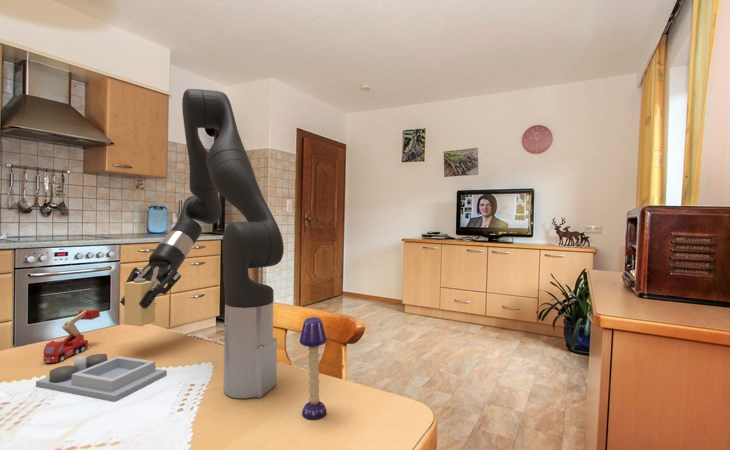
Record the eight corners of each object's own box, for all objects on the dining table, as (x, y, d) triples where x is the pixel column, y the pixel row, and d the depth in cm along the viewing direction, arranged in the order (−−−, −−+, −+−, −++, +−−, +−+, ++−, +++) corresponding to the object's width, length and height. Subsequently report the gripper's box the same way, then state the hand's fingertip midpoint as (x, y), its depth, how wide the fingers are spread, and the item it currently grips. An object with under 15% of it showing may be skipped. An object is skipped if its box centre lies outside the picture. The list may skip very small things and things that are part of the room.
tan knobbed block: (155, 321, 91) (154, 278, 91) (141, 326, 87) (141, 280, 87) (138, 320, 92) (138, 277, 92) (124, 324, 88) (124, 279, 88)
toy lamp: (313, 424, 61) (315, 324, 61) (292, 415, 64) (294, 319, 63) (331, 411, 65) (332, 318, 65) (311, 404, 68) (312, 314, 68)
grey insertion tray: (166, 375, 79) (166, 356, 79) (115, 401, 67) (115, 379, 67) (95, 363, 84) (95, 346, 84) (35, 386, 73) (36, 366, 73)
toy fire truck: (40, 364, 83) (40, 322, 83) (87, 343, 97) (87, 307, 97) (55, 364, 83) (55, 322, 83) (100, 344, 97) (100, 307, 97)
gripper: (142, 241, 99) (99, 295, 87) (187, 242, 95) (147, 298, 83) (158, 259, 104) (119, 312, 92) (201, 261, 100) (166, 316, 88)
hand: (133, 305), depth 88 cm, fingers closed on tan knobbed block, 5 cm apart
